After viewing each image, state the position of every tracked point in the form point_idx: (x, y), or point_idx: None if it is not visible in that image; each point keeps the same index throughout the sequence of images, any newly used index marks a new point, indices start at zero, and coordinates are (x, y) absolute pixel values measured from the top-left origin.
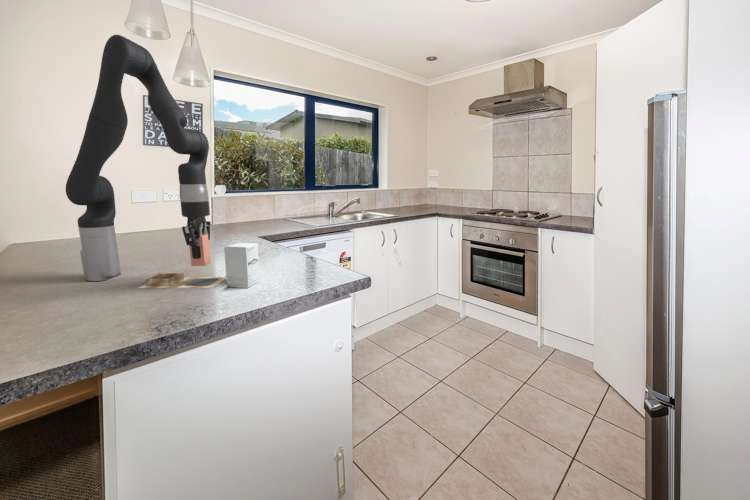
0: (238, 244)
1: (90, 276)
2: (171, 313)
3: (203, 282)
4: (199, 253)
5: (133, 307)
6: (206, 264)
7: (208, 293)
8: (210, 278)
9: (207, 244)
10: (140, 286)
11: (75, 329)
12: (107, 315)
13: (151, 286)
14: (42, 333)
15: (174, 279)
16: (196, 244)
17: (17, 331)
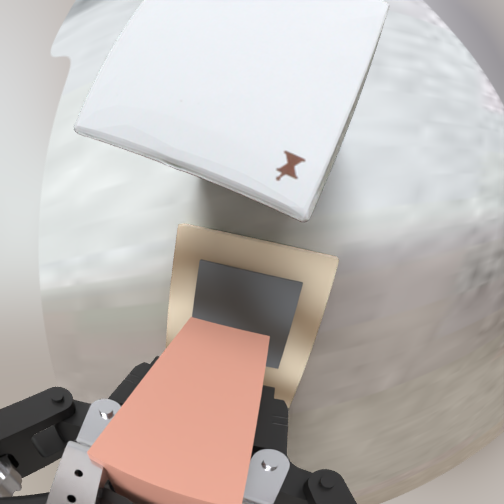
0: (201, 67)
1: None
2: (489, 323)
3: (262, 311)
4: (271, 408)
5: (408, 418)
6: (247, 333)
7: (365, 268)
8: (199, 292)
9: (160, 400)
10: None
11: (467, 432)
12: (431, 433)
13: None
14: (454, 455)
15: None
16: (317, 472)
17: (427, 479)
